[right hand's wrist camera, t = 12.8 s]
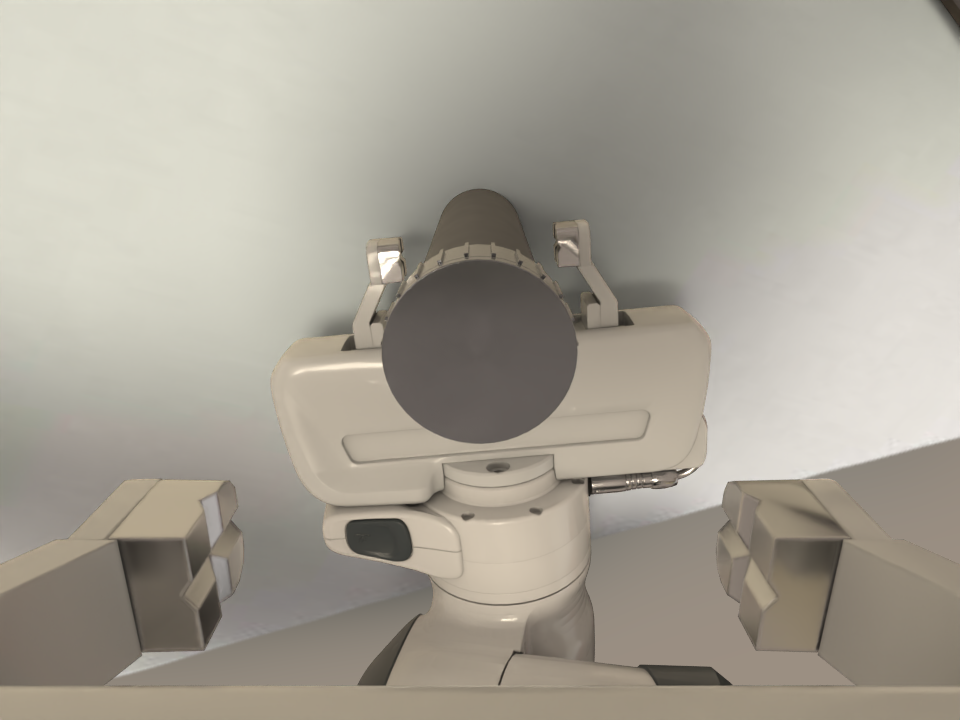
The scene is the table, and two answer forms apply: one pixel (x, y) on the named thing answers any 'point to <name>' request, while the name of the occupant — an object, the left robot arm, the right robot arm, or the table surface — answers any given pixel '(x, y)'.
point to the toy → (953, 8)
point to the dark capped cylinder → (479, 223)
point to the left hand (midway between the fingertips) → (476, 230)
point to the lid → (479, 344)
